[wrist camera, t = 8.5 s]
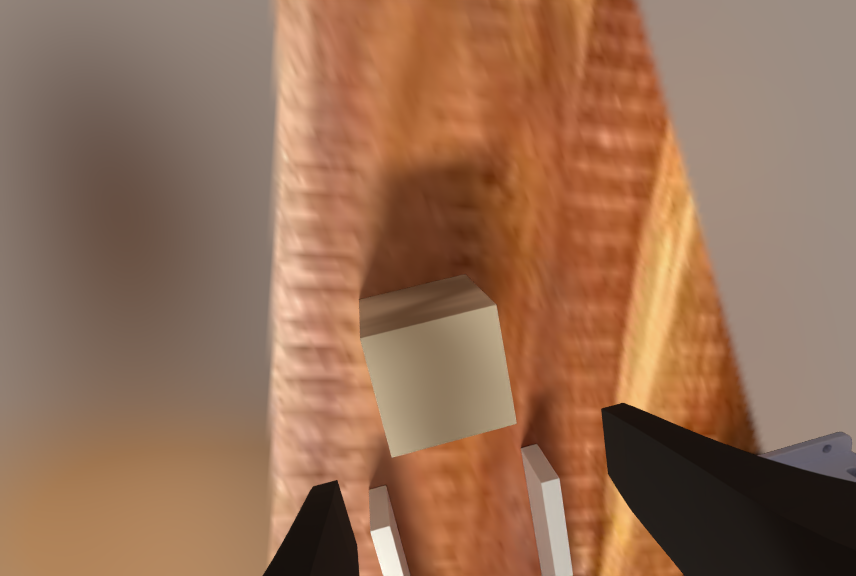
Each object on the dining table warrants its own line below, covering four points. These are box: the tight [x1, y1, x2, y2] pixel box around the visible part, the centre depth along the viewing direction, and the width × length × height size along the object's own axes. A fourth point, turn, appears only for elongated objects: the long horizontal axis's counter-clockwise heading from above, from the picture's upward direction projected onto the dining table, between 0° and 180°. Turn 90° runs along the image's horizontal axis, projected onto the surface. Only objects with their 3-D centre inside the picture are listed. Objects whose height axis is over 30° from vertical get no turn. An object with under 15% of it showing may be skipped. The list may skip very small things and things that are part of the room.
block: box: [359, 274, 517, 458], centre depth 18 cm, size 4×4×4 cm
